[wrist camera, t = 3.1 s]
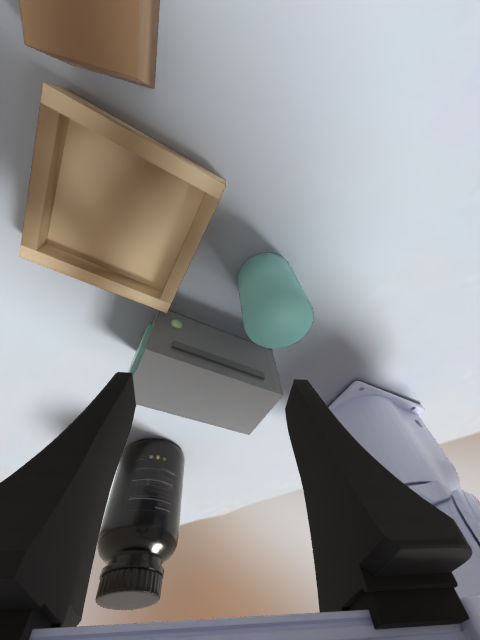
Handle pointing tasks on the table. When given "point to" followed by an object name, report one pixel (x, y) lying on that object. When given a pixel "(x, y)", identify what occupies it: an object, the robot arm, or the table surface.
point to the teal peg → (273, 302)
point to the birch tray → (113, 202)
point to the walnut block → (96, 35)
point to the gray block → (204, 374)
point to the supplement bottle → (140, 524)
